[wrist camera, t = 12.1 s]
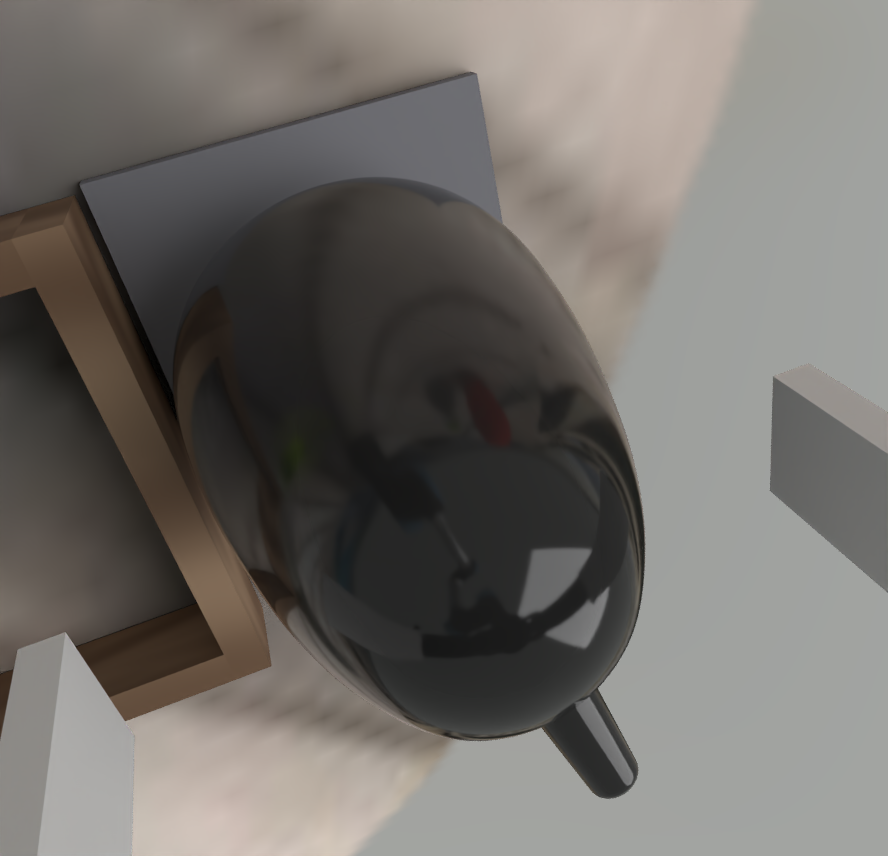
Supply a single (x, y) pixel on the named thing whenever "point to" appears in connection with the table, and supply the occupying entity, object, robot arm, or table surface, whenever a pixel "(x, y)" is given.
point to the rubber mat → (278, 186)
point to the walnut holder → (137, 474)
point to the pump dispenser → (419, 463)
